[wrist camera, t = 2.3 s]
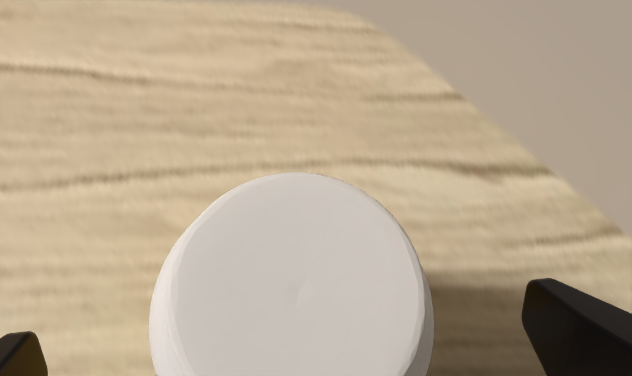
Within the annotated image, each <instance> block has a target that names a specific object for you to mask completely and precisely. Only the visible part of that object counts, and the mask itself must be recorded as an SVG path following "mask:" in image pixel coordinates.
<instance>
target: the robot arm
mask: <svg viewBox="0 0 632 376" xmlns="http://www.w3.org/2000/svg"><path fill="white" fill-rule="evenodd" d="M522 323H523V326H524V329H525V331H526V333H527V335H528V337H529V339H530V341H531V344H532V346H533V348H534V350H535V352H536V354H537V356H538V358H539V360H540V362H541V364H542V366H543V369H544V371H545V373H546V375H547V376H632V314H631V313H629V312H627V311H624V310H622V309H620V308H618V307H615V306H613V305H611V304H609V303H606V302H604V301H602V300H600V299H597V298H595V297H593V296H591V295H588V294H586V293H584V292H582V291H579V290H577V289H575V288H573V287H570V286H568V285H566V284H564V283H561V282H559V281H557V280H555V279H552V278H544V279H534V280H531V281H530V282H529V283H528V284H527V287H526V292H525V298H524V304H523V309H522ZM0 376H48V370H47V365H46V362H45V359H44V356H43V353H42V350H41V346H40V343H39V340H38V338H37V336H36V334H35V333H33V332H31V331H27V332H17V333H9V334H6V335H5V336H3V337H2V338H0Z"/></svg>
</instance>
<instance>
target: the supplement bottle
mask: <svg viewBox="0 0 632 376" xmlns="http://www.w3.org/2000/svg"><path fill="white" fill-rule="evenodd" d="M433 342H434V312H433V305H432V298H431V293H430V288H429V285H428V282H427V279H426V276H425V274H424V271H423V268H422V266H421V264H420V262H419V259H418V256H417V254H416V251H415V249H414V247H413V245H412V243H411V241H410V239H409V238H408V236H407V234H406V232H405V231H404V229H403V228H402V227H401V225H400V224H399V223H398V222H397V220H396V219H395V218H394V217H393V215H392V214H391V213H390V212H389V211H388V210H387V209H386V208H385V207H383V206H382V205H381V204H380V203H379V202H378V201H377V200H375V199H374V198H373V197H371V196H370V195H368V194H367V193H365V192H364V191H362V190H360V189H358V188H356V187H355V186H353V185H351V184H348V183H346V182H343V181H341V180H338V179H336V178H333V177H328V176H324V175H319V174H313V173H295V172H289V173H280V174H274V175H268V176H264V177H261V178H258V179H255V180H251V181H249V182H246V183H244V184H242V185H240V186H238V187H235V188H234V189H232V190H230V191H228V192H227V193H225V194H224V195H222V196H221V197H220V198H218V199H217V200H216V201H214V202H213V203H212V204H211V205H210V206H209V207H208V208H207V209H206V210H205V211H204V212H203V213H202V214H201V215H200V216H199V217H198V218H197V219H196V220H195V221H194V222H193V223H192V224H191V225H190V226H189V227H188V228H187V229H186V231H185V232H184V233H183V234H182V235H181V237H180V238H179V239H178V241H177V242H176V243H175V245H174V246H173V248H172V250H171V251H170V253H169V255H168V257H167V258H166V260H165V262H164V264H163V266H162V269H161V271H160V274H159V276H158V279H157V282H156V285H155V288H154V292H153V296H152V301H151V307H150V316H149V344H150V351H151V356H152V361H153V366H154V369H155V372H156V376H426V374H427V371H428V368H429V365H430V360H431V355H432V349H433Z"/></svg>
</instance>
